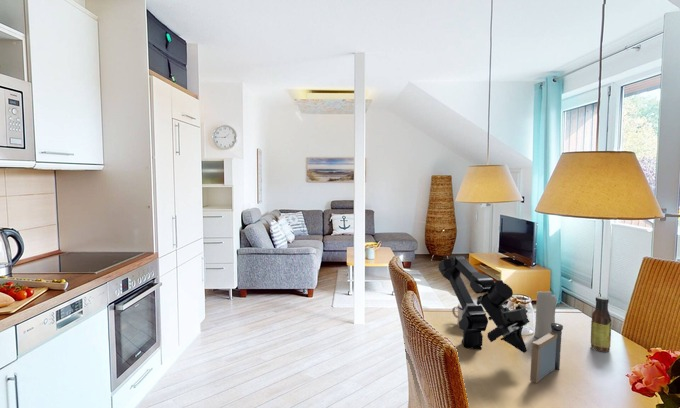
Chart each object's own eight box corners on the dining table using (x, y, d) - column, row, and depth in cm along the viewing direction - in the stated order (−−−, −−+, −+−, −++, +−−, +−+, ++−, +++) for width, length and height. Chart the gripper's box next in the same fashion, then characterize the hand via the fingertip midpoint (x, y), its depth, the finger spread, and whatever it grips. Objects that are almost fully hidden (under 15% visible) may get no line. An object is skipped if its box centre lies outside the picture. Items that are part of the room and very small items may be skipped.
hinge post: (550, 369, 125) (552, 326, 124) (546, 364, 129) (549, 322, 128) (562, 370, 125) (564, 327, 124) (558, 365, 128) (560, 323, 127)
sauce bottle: (613, 353, 138) (616, 301, 136) (594, 351, 139) (597, 300, 138) (604, 346, 144) (607, 296, 143) (586, 344, 145) (589, 294, 144)
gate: (549, 366, 126) (551, 331, 125) (555, 369, 125) (557, 333, 124) (530, 380, 117) (532, 342, 117) (536, 383, 116) (538, 344, 115)
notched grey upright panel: (565, 334, 154) (568, 287, 153) (549, 342, 146) (551, 293, 145) (548, 328, 160) (550, 283, 159) (531, 336, 152) (533, 288, 151)
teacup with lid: (482, 326, 161) (483, 300, 161) (472, 332, 155) (473, 305, 154) (457, 318, 170) (458, 294, 169) (446, 324, 164) (447, 298, 163)
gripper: (497, 303, 119) (530, 349, 111) (525, 293, 131) (557, 334, 123) (474, 320, 126) (504, 364, 118) (502, 308, 138) (531, 348, 130)
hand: (525, 352), depth 122 cm, fingers closed
